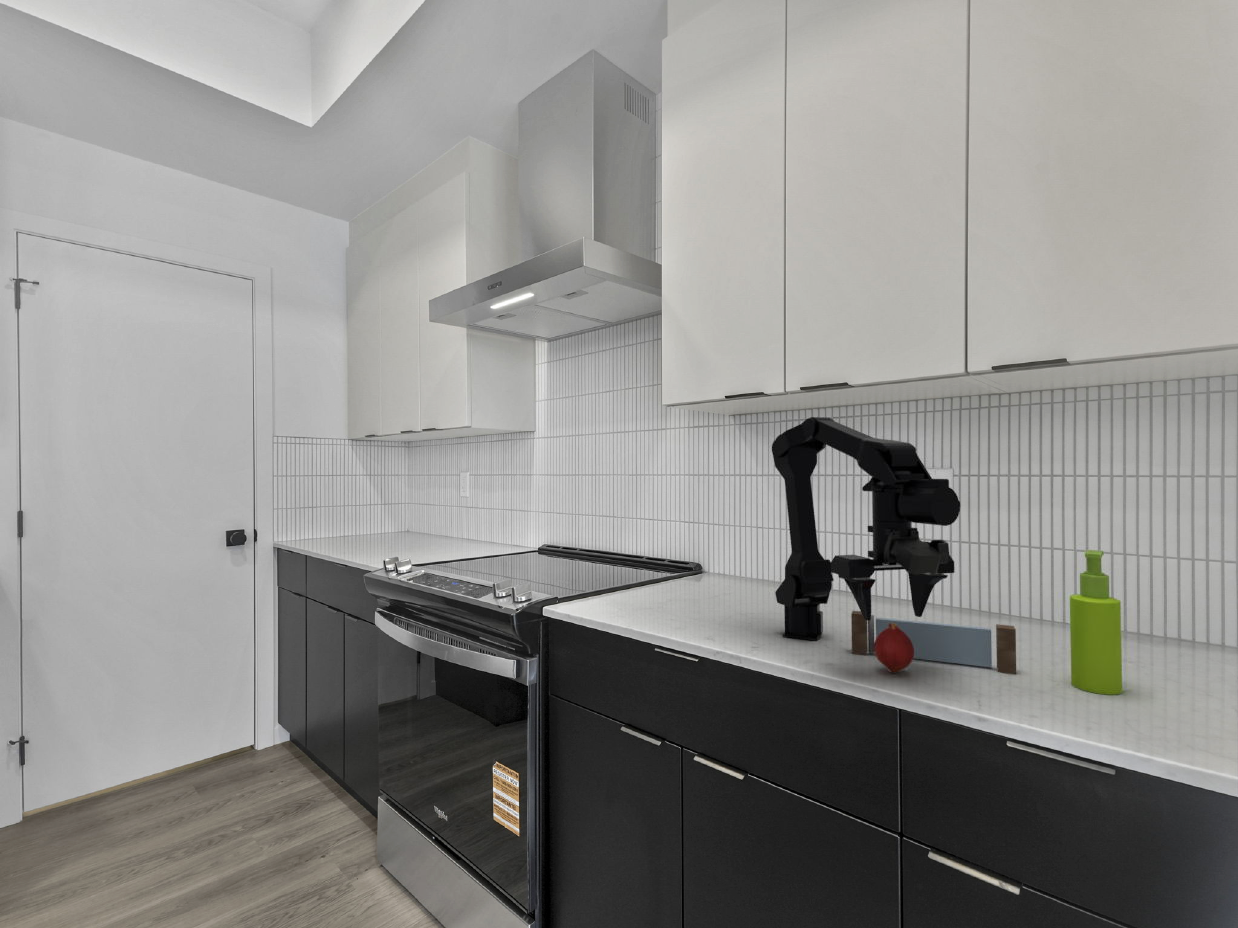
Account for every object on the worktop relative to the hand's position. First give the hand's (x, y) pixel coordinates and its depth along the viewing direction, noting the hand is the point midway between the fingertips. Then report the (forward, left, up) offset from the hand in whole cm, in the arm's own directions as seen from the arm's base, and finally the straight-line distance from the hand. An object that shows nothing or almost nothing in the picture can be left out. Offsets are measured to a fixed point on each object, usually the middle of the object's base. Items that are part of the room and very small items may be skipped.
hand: (893, 618), depth 96 cm
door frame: (+5, +9, -9) cm, 13 cm away
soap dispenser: (+27, +6, -9) cm, 29 cm away
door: (+5, +9, -8) cm, 13 cm away
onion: (0, 0, -9) cm, 9 cm away
